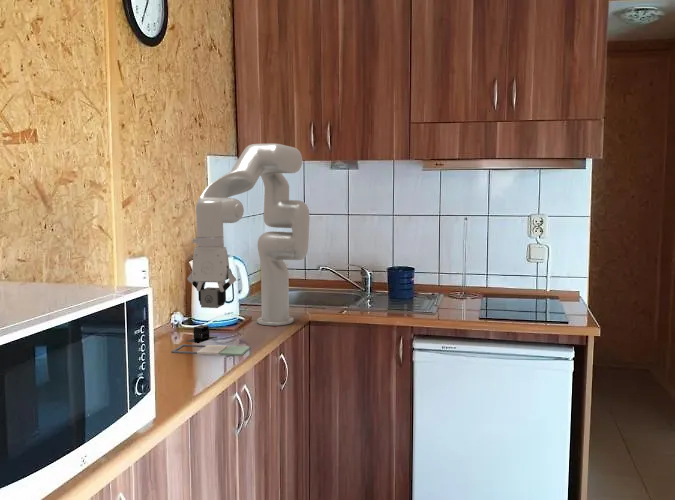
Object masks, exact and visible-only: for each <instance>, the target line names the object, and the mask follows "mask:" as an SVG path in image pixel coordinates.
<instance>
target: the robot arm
mask: <svg viewBox="0 0 675 500" xmlns="http://www.w3.org/2000/svg"><path fill="white" fill-rule="evenodd" d="M302 167H303V156H302V153H301V151H300V150H299V149H298V148H296V147H294V146H290V145H285V144H281V143H252V144H249V145H247V146H246V147H244V149H243V151H242V153H241V154H240V155H239V157H238V159H237V160H236V162H235V164H234V166H233V167H232V168H231V170H230V171H229V172H228V173H225V174H223V175H222V176H221V177H219V178H217V179H215V180H214V181H212V182H211V183H210V184H208V185H207V186H206V187H205V188H204V189H203V191H202V193H201V194H200V196H199V198H198V200H197V202H196V205H195V214H196V215H195V216H196V219H195V220H196V237H195V238H192V243H193V244H196V247H194V250H193V254H192V255H193V256H192V264H191V265H192V266H191V267H192V269H191V273H190V274H189V275H188V277H187V278H186V279H187V281H188V283H190V284H192V286H193V287H195V289H196V291H197V292H198V302H199V305H200V306H201V290H203V289H205V286H206V283H217V286H218V288H219V289H220V292H218V304H219V306H220V307H222V306H224V305H225V303H226V301H227V294H226V293H227V292H226V291H227V290H228V289H229V287H231V286H232V285H233V284H234V283H235V282H236V281H237V278H236V276H235V275H234V274H233V273H232V272H231V270H230V263H229V254H228V251H227V247H226V246H225V245H224V243H225V241H224V224H234V223H237V222H239V221H240V220H241V219H242V218H243V216H244V212H245V211H244V205H243V203H242V201H241V200H239V199H237V198H234V196H237V195H241V194H243V193H246V192H249V191H250V190H252V189H254V187H255V185H256V183H257V181H258V179H259V178H260V177H261V178H260V179H262V182H263V185H264V195H263V196H264V197H263V198H264V199H263V200H264V201H263V221H264V224H265V225H266V226H267V227H269V228H276V229H278V228H280V229H281V228H282V229H291V231H266V232H263V233H261V235H260V236H259V237H258V239H257V251H258V256H259V262H260V287H261V288H260V289H261V290H260V292H261V294H260V295H261V316H260V317H258V318H257V319H256V321H257V323H258V324H259V325H263V326H269V327H270V326H287V325H289V324H290V325H291V324H292V323H294V317H292V316H290V292H289V291H290V290H289V289H290V285H289V284H290V281H289V277H290V274H289V268H288V267H287V265H286V264H285V261H302V260H304V259H305V258H306V256H307V254H308V251H309V241H310V240H309V239H310V237H309V236H310V211H309V207H308V204H307V203H305V202H304V201H302V200H296V199H295V200H294V199H293V200H292V199H290V185H289V182H288V179H287V178H286V177H285V175H284V174H295V173H297V172H299V171H300V170H301V168H302ZM227 280H228V281H227ZM226 281H227V282H226ZM223 304H224V305H223ZM221 305H222V306H221Z"/></svg>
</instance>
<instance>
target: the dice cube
mask: <svg viewBox="0 0 675 500" xmlns="http://www.w3.org/2000/svg"><path fill="white" fill-rule="evenodd" d="M218 292H220V289H219V287H210V286H208V287H206V288H205V287H204V289H203V290H201V305H200V307H201V308H205V309H207V308H208V309H218V308H221V307H223V306H224V305H225V304H223V305H221V306H219V304H218Z"/></svg>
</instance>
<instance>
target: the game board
mask: <svg viewBox="0 0 675 500" xmlns="http://www.w3.org/2000/svg"><path fill="white" fill-rule="evenodd" d="M183 347H190V348H191V347H193V348H200V349H199V350H198V351H182V350H181V351H180V349H182V348H183ZM249 350H251V346H242V345H229V346H228V345H224V344H223V345H222V344H221V345H218V344H206V345H204V344H203V345H202V344H186V343H185V344H181V345H179V346H178V347H176V348H174V349H173V350H172V351H171V354H172V353H173V354H192V355H211V356H212V355H215V356H219V355H220V356H231V355H234V356H233V357H235V356H237V357H242V356H243V355H244V354H246V353H247V352H248V351H249Z"/></svg>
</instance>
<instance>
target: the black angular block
mask: <svg viewBox="0 0 675 500" xmlns="http://www.w3.org/2000/svg"><path fill="white" fill-rule="evenodd" d="M192 334H193V338H191V339H188V340H186V342H189V343H195V344H200V343H201V344H202V343H203V342H206V341H209V340H214V339H216V338H218V336H215V335H210V328H209V325H204V324H200V325H196V326H193V333H192Z"/></svg>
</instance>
